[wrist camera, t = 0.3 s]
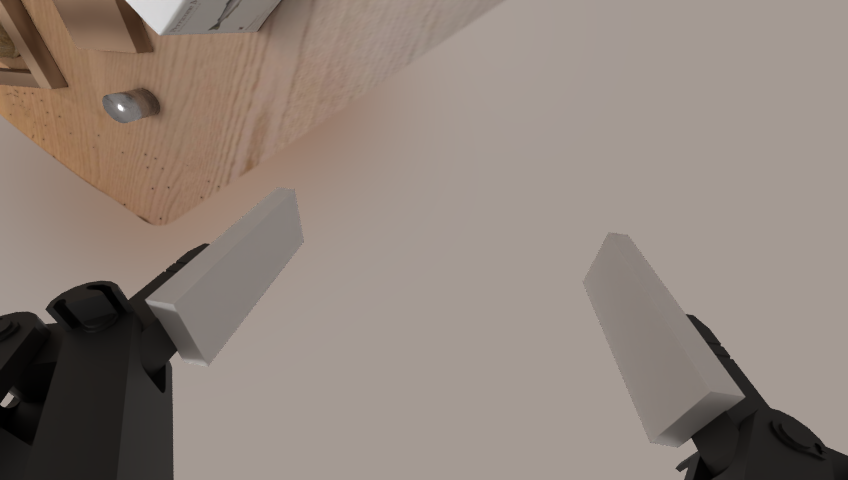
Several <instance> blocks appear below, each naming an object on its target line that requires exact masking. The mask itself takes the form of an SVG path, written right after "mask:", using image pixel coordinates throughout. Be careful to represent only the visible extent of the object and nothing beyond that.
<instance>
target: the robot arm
mask: <svg viewBox="0 0 848 480" xmlns="http://www.w3.org/2000/svg"><path fill="white" fill-rule="evenodd" d="M303 242H304V239H303V234H302V228H301V223H300V217H299V211H298V205H297V200H296V194H295V190H294V189H287V188H280V187H277V188H276V189H275V190H274V191H272V192H271V193H270V194H269V195H268V196H266V197H265V198H264V199H263V200H262V201H261V202H260V203H258V204H257V205H256V206H255V207H253V208H252V209H251V210H250V211H249V212H248V213H246V214H245V215H244V216H243V217H242V218H241V219H239V220H238V221H237V222H236V223H235V224H234V225H232V226H231V227H230V228H229V229H228V230H226V231H225V232H224V233H223V234H222V235H221V236H219V237H218V238H217V239H216V240H215V241H213V242H212V243H211V244H202V245H201V246H198V247H197V248H194V249H193V250H190V251H188V252H187V253H186V254H185V255H183V256H182V257H181V258H180V259H179V260H177V261H176V263H174V264H172V265H171V266H170V267H169V268H167V269H166V272H162V273H161V274H160V275H159V276H157V277H156V278H155V279H154V280H152V281H151V282H150V283H149V284H148V285H146V286H145V287H144V288H143V289H142V290H140V291H139V292H138V293H137V294H135V295H134V296H133V297H132V298H130V299H129V300H127V298H126V297H125V295H124V294H123V292H122V291H121V289H120V288H119V286H118V285H117V284H115V283H113V282H111V281H97V282H90V283H86V284H83V285H80V286H77V287H74V288H72V289H70V290H68V291H66V292H64V293H62V294H60V295H59V296H58V297H56V298H55V299H54V300H52V301H51V302H50V304H49V305H48V306H47V308H46V311H47V312H48V313H49V314H50V315H51V316H52V317H53V318H54V319H55V320H56V321H57V323H53V324H44V323H43V321H42V320H41V319H40V318H39V317H38V316H37V315H36V314H34V313H30V312H15V313H11V314H7V315H3V316H0V403H1V402H2V400H3V399H4V398H5V396H6V395H7V393H8V392H9V393H10V394H12V395H13V396H14V398H13V399H12V401H11V402H10V403H9V404H8V405H7V406H6V407H2V406H1V405H0V480H173V404H172V366H171V363H170V361H169V359H170V358H171V357H172V356H173V355H174V354H175V353H176V351H178V353H179V354H180V356H181V357H182V359H183V361H184V362H186V363H192V364H197V365H203V366H209V365H210V363H211V362H212V361H213V359H214V358H215V357H216V355H217V354H218V353H219V351H220V350H221V349H222V348H223V346H224V345H225V344H226V342H227V341H228V340H229V338H230V337H231V336H232V335H233V333H234V332H235V331H236V329H237V328H238V327H239V325H240V324H241V323H242V322H243V320H244V319H245V318H246V316H247V315H248V314H249V312H250V311H251V310H252V309H253V307H254V306H255V305H256V303H257V302H258V300H259V299H260V298H261V297H262V296H263V294H264V293H265V292H266V290H267V289H268V288H269V286H270V285H271V283H272V282H273V281H274V280H275V279H276V277H277V276H278V275H279V273H280V272H281V271H282V269H283V268H284V267H285V265H286V264H287V263H288V262H289V260H290V259H291V258H292V256H293V255H294V254H295V252H296V251H297V250H298V249H299V247H300V246H301V245H302V243H303ZM583 284H584V286H585V289H586V291H587V293H588V296H589V298H590V301H591V303H592V305H593V308H594V310H595V313H596V315H597V317H598V320H599V322H600V325H601V327H602V329H603V331H604V334H605V336H606V339H607V341H608V344H609V346H610V348H611V351H612V353H613V356H614V358H615V360H616V363H617V365H618V367H619V370H620V372H621V374H622V376H623V379H624V382H625V384H626V386H627V389H628V391H629V394H630V396H631V398H632V401H633V403H634V405H635V408H636V410H637V413H638V415H639V417H640V420H641V422H642V424H643V427H644V429H645V432H646V434H647V436H648V439H649V441H650V443H655V444H661V445H667V446H672V447H680V446H681V445H682V444H684V443H685V442H686V441H688V440H689V439H690V438H692V440H693V442H694V444H695V445H696V447H697V449H698V451H697V452H696V453H695V454H693V455H691V456H690V457H688V458H687V459H686V460H684V461H683V462H681V463H680V464H679V465H678V466H677V467H676V469H677V470H678V471H679V472H681V471H682V470H684V469H685V468H688V470H687V473H686V476H685V479H684V480H848V456H847V455H845V454H842V453H840V452H837V451H835V450H833V449H830V448H828V447H825V445H824V444H823V443H822V441H821V440H820V439H819V438H818V437H817V436H816V435H815V434H814V433H813V432H812V431H811V430H810V429H808V427H806V426H805V425H803V424H802V423H800V422H799V421H798V420H796V419H795V418H793V417H791V416H789V415H787V414H785V413H783V412H781V411H779V410H775V409H771V408H770V407H769V406H768V404H767V403H766V402H765V401H764V399H763V398H762V397H761V395H760V394H759V393H758V391H757V390H756V389H755V388H754V386H753V385H752V384H751V382H750V381H749V380H748V378H747V377H746V376H745V374H744V373H743V372H742V371H741V369H740V368H739V367H738V366H737V364H736V363H735V361H734V360H733V359H730V355H729V354H728V352H727V351H726V350H725V348H724V347H722V346H721V343H720V342H719V341H718V339H717V338H716V337H715V335H714V334H713V333H712V332H711V330H710V329H709V328H708V327H707V326H705V325H704V324H703V323H702V322H701V321H699V320H698V319H697V318H696V317H695V316H693V315H688V314H685V313H684V311H683V310H682V309H681V307H680V306H679V305H678V303H677V302H676V300H675V299H674V298H673V296H672V295H671V294H670V292H669V291H668V289H667V288H666V287H665V286H664V284H663V283H662V281H661V280H660V278H659V277H658V276H657V274H656V273H655V271H654V270H653V269H652V267H651V266H650V265H649V263H648V262H647V260H646V259H645V258H644V256H643V255H642V254H641V252H640V251H639V249H638V248H637V247H636V245H635V244H634V243H633V241H632V240H631V239H630V237H629V236H628V235H623V234H617V233H608V235H607V237H606V238H605V240H604V242H603V244H602V246H601V248H600V250H599V252H598V254H597V256H596V258H595V260H594V261H593V263H592V265H591V267H590V269H589V271H588V273H587V275H586V277H585V279H584V281H583Z"/></svg>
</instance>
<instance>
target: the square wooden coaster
mask: <svg viewBox="0 0 848 480" xmlns="http://www.w3.org/2000/svg"><path fill="white" fill-rule="evenodd" d="M53 2H54V4H55V6H56V8H57V10H58V12H59V14H60V16H61V18H62V20H63V22H64V24H65V26H66V28H67V30H68V32H69V34H70V36H71V38H72V40H73V42H74V44H75V46H76V48H77V49H89V50H103V51H116V52H130V53H143V52H153V49H152V47H151V44H150V41H149V39H148V36H147V34H146V31H145V29H144V26H143V23H142V21H141V18H140V16H139V14H138V13H137V12H136V11H135V10H134V9H133V8H132V7H131V6H130V5H129V4H128V3H127V2H126V0H53Z"/></svg>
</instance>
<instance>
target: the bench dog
mask: <svg viewBox="0 0 848 480" xmlns="http://www.w3.org/2000/svg"><path fill="white" fill-rule="evenodd" d="M102 102H103V106H104V108H105V110H106V112H107V113H108V114H109V115H110V116H111V117H112V118H113V119H115V120H116V121H118V122H121V123H128V122H131V121H135V120H138V119H142V118H145V117H149V116H152V115H155V114H157V113H158V112H159V109H160V107H159V103H158V101H157V99H156V98H155V97H154V96H153V94H151V93H150V92H149V91H147V90H145V89H141V88H140V89H134V90H129V91H124V92H119V93H114V94H109V95H105V96H104V97H103V100H102Z"/></svg>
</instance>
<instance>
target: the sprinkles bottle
mask: <svg viewBox="0 0 848 480" xmlns="http://www.w3.org/2000/svg"><path fill="white" fill-rule="evenodd" d="M19 55H20V53H19V51H18V50H17V48H16V46H15V45H14V43H13V41H12V40H11V38H10V36H9V35H8V33H7V31H6V30H5V28H4V26H3V25H2V23H1V21H0V57H10V58H16V57H17V56H19Z"/></svg>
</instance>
